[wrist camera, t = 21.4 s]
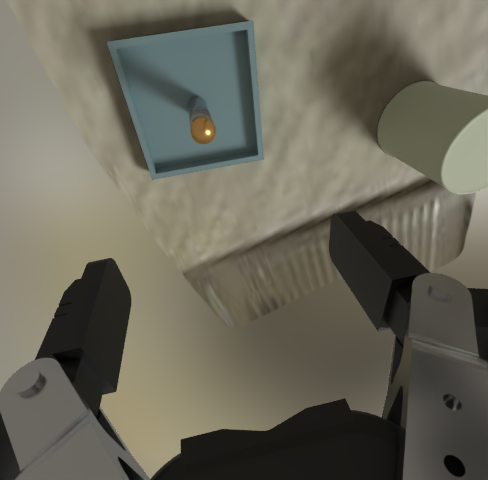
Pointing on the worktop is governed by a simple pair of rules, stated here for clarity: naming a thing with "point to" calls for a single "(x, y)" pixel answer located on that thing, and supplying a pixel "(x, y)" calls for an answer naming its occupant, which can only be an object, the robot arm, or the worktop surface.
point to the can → (439, 134)
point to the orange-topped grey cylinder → (200, 121)
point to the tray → (192, 95)
